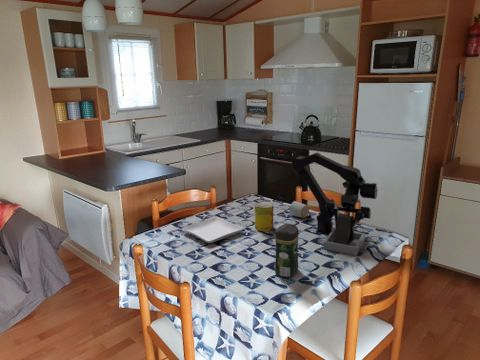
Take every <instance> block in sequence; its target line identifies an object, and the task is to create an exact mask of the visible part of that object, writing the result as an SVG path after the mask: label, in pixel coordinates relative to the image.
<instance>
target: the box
mask: <svg viewBox="0 0 480 360" xmlns="http://www.w3.org/2000/svg"><path fill="white" fill-rule="evenodd" d="M335 230H336V228H333V230H332V231H331V233H330V234H329V235H328V234H327V237H326V238H325V240H324V241H323V247H322V248H323V250H326V251H332V252H335V253H341V254H346V255H351V256H356V257H357V256H358V255H359V252H360V250H361V249H362V247H363V245H364V244H365V238H366V233H362V232H357V231H354V234H355V240H353V241H352V242H351V243H350V244H348V245H344V244H339V243H334V242H333V239H334V234H335Z"/></svg>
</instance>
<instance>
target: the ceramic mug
mask: <svg viewBox="0 0 480 360" xmlns="http://www.w3.org/2000/svg"><path fill="white" fill-rule="evenodd" d="M289 214H290V215H291V216H294V217H297V218H300V219H304V218H307V216H308V215H310V208H309V206H308V205H307V204H304V203H302V202H299V201H295V200H294V201H292V203H291V204H290V207H289Z"/></svg>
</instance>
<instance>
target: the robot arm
mask: <svg viewBox="0 0 480 360" xmlns="http://www.w3.org/2000/svg"><path fill="white" fill-rule="evenodd" d="M314 163H315V164H317V165H319V166H321V167H324V168H325V169H327V170H329V171H332V172H333V173H336V174H337V175H339V176H340V178H341V179H343V180H344V182H342V187H343V188H344V189H345V191H344V192H345V193H344V194H341V196H340V205H341V206H339V205H338V204H337V203H336V202H335V199H333V198H331V199H330V198H328V197H327V196H326V193H325V192H324V191H323V189H322V187H321V186H320V185H319V182H318V181H317V180H316V177H315V176H314V175H313V173H312V170H311V166H310V165H311V164H314ZM291 167H292V169H293V171H295V173H296V174H298V175H299V176H300V177H301V178H302V179H303V181H304V182H305V184H306V185H307V187H308V188H309V190H310V192H311V193H312V195H313V197H314V198H315V200H316V202H317V203H318V208H319V211H320V213H319V214H318V215H317V216H316V217H315V219H316V221H317V226H316V227H317V228H316V231H315V232H316V233H318V234H324V235H327V236H328V235H329V234H330V233H331V231H332V230H333V229H334V223H335V227H336V226H337V217H338V214H340V212H346V213H353V214H354V216H353V217H354V220H353V223H352V227H351V229H352V230H353V228H354V229H355V227H356V225H358V224H359V222H360V221H362V220H364V219H369V220H370V219H371V217H372V210H371V208H370V207H367V206H360V208H356V206H357V203H359V196H360V197H361V198H362V199H371V200H376V199H377V197H378V190H379V189H378V184H377V183H376V182H373V183H372V182H371V183H370V182H366V180H365V179H364V178H363V176H362V172H361V170H360V169H359V168H357V167H354V166H350V165H345V164H341V163H339V162H337V161H336V160H333V159H331V158H329V157H327V156H325V155H322V154H321V153H320V152H314V153H312V154H309V155H306V156H302V155H301V156H298V157H296V158H294V159H292V161H291ZM333 217H334V222H333Z"/></svg>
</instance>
